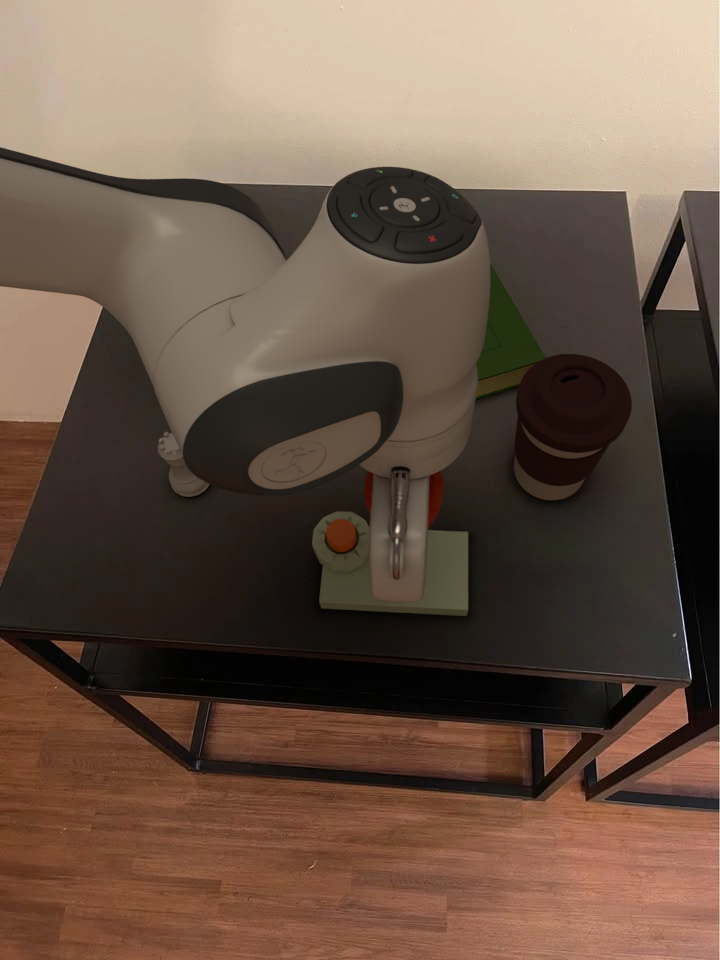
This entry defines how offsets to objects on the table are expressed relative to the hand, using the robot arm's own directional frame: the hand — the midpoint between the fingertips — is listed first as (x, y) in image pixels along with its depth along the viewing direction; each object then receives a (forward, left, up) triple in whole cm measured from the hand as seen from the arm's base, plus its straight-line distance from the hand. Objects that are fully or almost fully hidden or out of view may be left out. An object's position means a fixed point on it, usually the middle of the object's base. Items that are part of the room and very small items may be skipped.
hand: (403, 505), depth 58 cm
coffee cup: (+18, +5, -15) cm, 24 cm away
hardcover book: (+14, +28, -15) cm, 35 cm away
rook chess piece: (-17, +18, -15) cm, 29 cm away
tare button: (-5, +4, -12) cm, 13 cm away
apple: (0, 0, -3) cm, 3 cm away
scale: (-1, 0, -15) cm, 15 cm away
